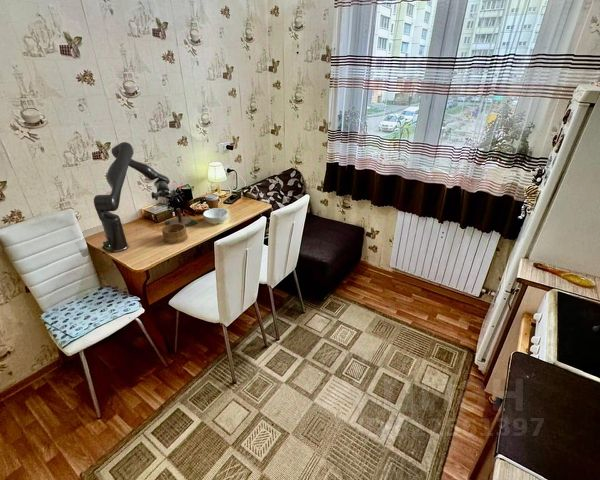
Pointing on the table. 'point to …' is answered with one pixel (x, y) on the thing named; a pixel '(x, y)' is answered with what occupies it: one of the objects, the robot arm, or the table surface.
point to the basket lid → (180, 219)
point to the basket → (174, 233)
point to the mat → (185, 225)
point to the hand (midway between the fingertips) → (164, 198)
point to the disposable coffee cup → (212, 200)
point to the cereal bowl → (215, 215)
